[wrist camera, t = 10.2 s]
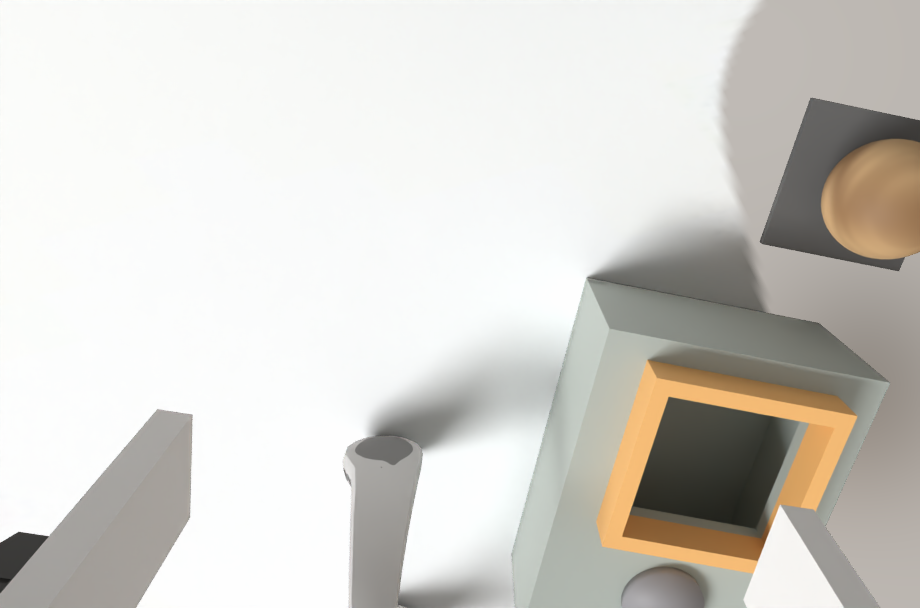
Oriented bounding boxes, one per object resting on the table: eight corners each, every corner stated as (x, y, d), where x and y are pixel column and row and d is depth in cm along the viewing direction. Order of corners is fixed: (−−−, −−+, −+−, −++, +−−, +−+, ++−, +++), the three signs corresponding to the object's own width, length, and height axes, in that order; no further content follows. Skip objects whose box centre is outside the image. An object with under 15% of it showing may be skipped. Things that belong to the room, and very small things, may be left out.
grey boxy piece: (586, 277, 42) (617, 345, 32) (818, 323, 42) (913, 402, 33) (502, 589, 49) (507, 714, 40) (698, 623, 50) (748, 755, 41)
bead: (825, 121, 38) (885, 135, 32) (933, 143, 38) (1012, 162, 32) (785, 230, 40) (836, 261, 34) (888, 251, 40) (956, 285, 35)
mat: (810, 97, 38) (814, 98, 37) (955, 128, 38) (960, 128, 38) (759, 241, 41) (762, 243, 40) (895, 269, 41) (898, 271, 41)
